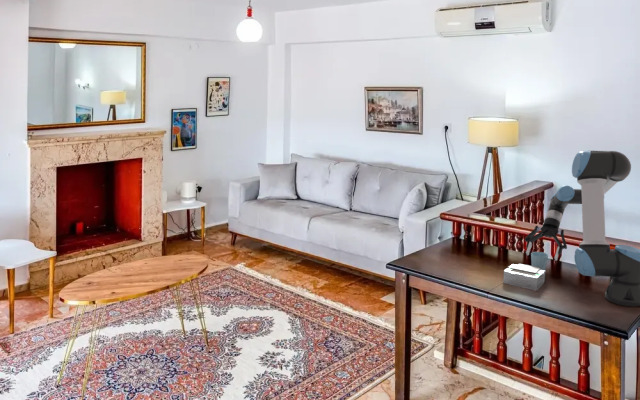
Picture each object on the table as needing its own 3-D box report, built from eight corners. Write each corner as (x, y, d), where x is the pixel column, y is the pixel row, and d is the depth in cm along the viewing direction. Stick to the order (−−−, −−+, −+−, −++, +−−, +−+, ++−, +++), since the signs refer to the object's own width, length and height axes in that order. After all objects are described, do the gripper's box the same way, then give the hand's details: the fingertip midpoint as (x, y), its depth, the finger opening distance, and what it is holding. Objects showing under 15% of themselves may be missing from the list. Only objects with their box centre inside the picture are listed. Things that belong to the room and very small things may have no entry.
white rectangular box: (511, 275, 266) (512, 263, 265) (544, 282, 257) (545, 270, 256) (503, 283, 257) (503, 270, 255) (536, 290, 248) (537, 277, 246)
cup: (550, 276, 265) (551, 255, 263) (538, 278, 262) (539, 257, 260) (538, 271, 272) (539, 250, 270) (526, 273, 269) (527, 253, 267)
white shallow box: (513, 272, 267) (514, 261, 265) (544, 279, 258) (545, 267, 257) (506, 278, 258) (506, 267, 257) (537, 285, 250) (538, 274, 248)
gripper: (579, 228, 278) (568, 265, 270) (528, 221, 293) (517, 255, 285) (577, 220, 273) (566, 257, 265) (526, 213, 288) (514, 248, 279)
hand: (541, 256), depth 275 cm, fingers open, 13 cm apart
